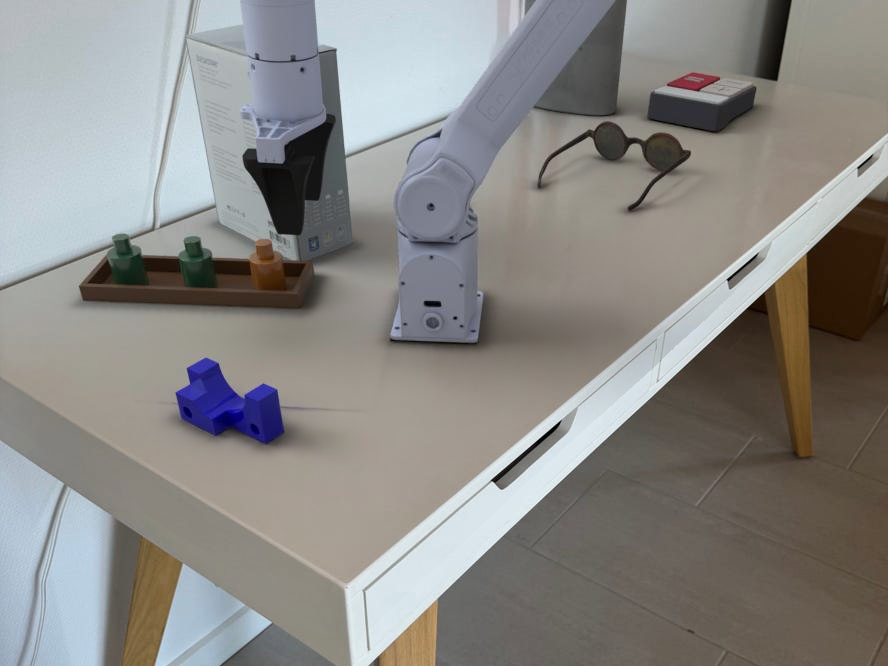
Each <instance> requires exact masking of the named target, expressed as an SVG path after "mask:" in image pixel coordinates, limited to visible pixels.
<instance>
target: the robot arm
mask: <svg viewBox="0 0 888 666" xmlns="http://www.w3.org/2000/svg"><path fill="white" fill-rule="evenodd" d="M615 1H616V0H536V1H535V3H534V4H533V5H532V7H531V8H530V9H529V11H528V12H527V14H526V15H525V14H524V15H523V16H524V17H522V19H521V20H520V22H519V23H518V25H517V26H516V28H515V29H514V30H513V31H512V32H511V35H510V36H509V37H508V39H506V41H505V43H504V44H503V46H502V47H501V48H500V50H499V51H498V52H497V53H496V55H495V56H494V58H493V59H492V61H491V62H490V64H489V65H488V66H487V67H486V69H485V70H484V72H483V73H482V74H481V76H480V77H479V79H478V80H477V81H476V83H475V84H474V85H473V87H472V88H471V90H469V92H468V94H467V95H466V96H465V98H464V99H463V101H462V102H461V104H460V105H459V106H458V107H457V108H456V109H455V110H454V111H452V113H450V114H449V115H448V116H447V118H446V119H445V120H444V122H443V123H442V124H441V126H440V127H439V128H437V129H436V130H435V131H433V132H432V133H430V134H428V135H425V136H423V137H422V138H420V139H419V140H418V141H416V142H415V143H414V145H413V146H412V148H411V149H410V150H409V153H408V156H407V159H406V167H405V170H404V172H403V175H402V178H401V180H400V181H399V182H398V185H397V186H396V189H395V192H394V197H393V207H394V213H395V216H396V217H397V218H396V219H397V220H396V226H397V228H396V229H397V247H398V248H397V249H398V267H399V268H398V269H399V273H398V299H399V302H398V305H397V309H396V312H395V316H394V319H393V323H392V327H391V331H390V339H391V340H395V341H412V342H413V341H416V342H440V343H441V342H443V343H464V344H465V343H467V344H474V343H477V342H478V341H479V334H480V327H481V326H480V325H481V320H482V319H481V318H482V311H483V304H484V303H483V302H484V292H483V291H481V290H478V248H479V247H478V242H479V240H478V237H479V235H478V234H479V231H478V228H479V227H478V225H479V220H478V214H477V213H475V212H474V209H473V207H472V206H471V201H472V198H473V196H474V195H475V193H476V192H477V190H479V188H480V186H481V185H482V184H483V183H484V180H485V178H486V176H487V175H488V173H489V171H490V169H491V167H492V165H493V163H494V162H495V159H496V157H497V155H498V154H499V152H500V151H501V149H502V148H503V147H504V145H506V143H507V142H508V140H509V139H510V138H511V136H512V135H513V134H514V132H516V130H517V129H518V127H519V126H520V125H521V124H522V122H523V121H524V120H525V118H526V117H527V115H528V114H529V113H530V112H531V110H533V108H535V107H534V105H535V104H536V103H537V101H538V100H539V99H540V98H541V96H542V95H543V94H544V92H545V91H546V90H547V89H548V87H549V86H550V85H551V83H552V82H553V81H554V79H555V78H556V77H557V76H558V74H559V73H560V72H561V70H562V69H563V68H564V67H565V65H566V64H567V63H568V61H569V60H570V59H571V58H572V56H573V55H574V54H575V52H576V51H577V50H578V49H579V47H580V46H581V45H582V43H583V42H584V41H585V39H586V38H587V37H588V36H589V34H590V33H591V32H592V30H593V29H594V28H595V27H596V25H597V24H598V23H599V21H600V20H601V19H602V18H603V16H604V15H605V14H606V12H607V11H608V10H609V9H610V7H611V6H612V5H613V3H614V2H615ZM239 3H240V11H241V19H242V25H243V29H244V37H245V45H246V53H247V59H248V67H249V76H250V84H251V92H252V100H253V104H245V105H244V106H243V107H242V108H241V109H240V117H241V118H242V119H248V120H252V121H253V123H254V126H255V129H256V133H257V136H256V138H255V142H256V149H253V148H248V149H247V150H246V151H245V153H244V154H243V155H242V158H243V164H244V167H245V169H246V170H247V171H248V173H249V174H250V175H251V177H252V178H253V179H254V181H255V182H256V184H257V186H258V188H259V189H260V191H261V193H262V195H263V197H264V200H265V202H266V205H267V208H268V210H269V213H270V216H271V219H272V222H273V224H274V227H275V229H276V231H277V233H278V234H283V235H301V233H302V230H303V225H304V214H305V200H310V201H318V200H319V198H320V194H321V189H322V181H323V171H324V162H325V156H326V150H327V146H328V142H329V139H330V136H331V133H332V130H333V128H334V125H335V123H336V117H335V116H334V115H332V114H326V109H325V107H324V105H323V100H322V87H321V74H320V62H319V49H318V43H319V37H318V25H317V13H316V11H317V10H316V0H239Z"/></svg>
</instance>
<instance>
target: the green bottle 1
mask: <svg viewBox="0 0 888 666" xmlns="http://www.w3.org/2000/svg"><path fill="white" fill-rule="evenodd" d="M111 241H112V245H113V247H112V248H110V249H108V250H107V252H106V255H107V257H108V260H109V264H110V268H111V272H112V275H113V279H114V283H115V285H139V286H147V285H148V284H149V280H148V275H147V271H146V267H145V263H144V259H143V255H144V254H143V252H142V248H141V247H140V246H139V245H136V244H132V242H131V238H130V235H129V234H128V233H117V234H114V235H112V237H111Z"/></svg>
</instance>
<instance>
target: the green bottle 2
mask: <svg viewBox="0 0 888 666" xmlns="http://www.w3.org/2000/svg"><path fill="white" fill-rule="evenodd" d="M201 239H202V238H201V237H200V236H199V235H198V236H197V235H189V236H187V237H184V239H183V246H184V249H183V250H182V251H180V252H179V253H178V255H177V256H178V259H179V264H180V268H181V273H182V278H183V282H184V287H193V288H217V287H218V282H217V277H216V271H215V266H214V261H213V258H214V255H213V252H212V250H211V249H209V248H207V247H203V243H202V240H201Z"/></svg>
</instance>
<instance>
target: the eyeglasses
mask: <svg viewBox="0 0 888 666" xmlns="http://www.w3.org/2000/svg"><path fill="white" fill-rule="evenodd" d="M588 138H591V139H592V140H593V144H594V147H595V149H596V152H597V153H598V154H599V155H600V156H601V157H602V158H604V159H606V160H609V161H617V160H620V159H622V158H623V157H624V156H625V155H626V153H627V152H628V150H629V148H630V146H632V145H635V144H636V145H639V146H640V147H641V152H642V157H643V159H644V160H645V162H646V163H647V164H648V165H649V166H650V167H651V168H653V169H655V170H657V171H661V172H659V173H658V174H657V175H656V176H655V177H654V178H652V179H651V181H650V182H649V183H648V184H647V186H646V187H645V188H644V191H643V192H642V193H641V195H640V196H639V198H637V200H636V201H635V202H633V203H632V204H629V205H628V206H627V211H628V212H631V211H633V210H635V209H637V208H638V207H639V206H640V205H641V204H642V203H643V201H644V200H645V198H646V197H647V196H648V194H649V192H650V191H651V189H652V188H653V187H654V186H655V184H656V183H658V182H659V181H660V180H661V179H663V178H664V177H665V176H666V175H668V174H669V173H670V172H673V170H675V169H676V168H678V167H680V166H681V165H682V164H684V163H685V162H686V161H687V160H688V159H690V158H691V155H692V151H691V150H690V149H684V148H683V147H682V144H681V142H680V141H679V140H678V138H677V137H675V136H674V135H672V134H670V133H669V132H661V131H660V132H655V133H652V134H651V135H649V136H648V138H646V139H645V140H643V139H642V138H638V137H635V136H633V137H628V136H627V134H626V133H625V132H624V130H623V128H622V127H621V126H620V125H618V124H617V123H616V122H613V121H609V120H607V121H606V120H605V121H603V122H600V123H599V124H598V125H597V126H596V127H595V128H594V130H593V129H587V130H586V131H585V132H583V133H581V134H579V135H578V136H576V137H575V138H573V139H571V140H570V141H568V142H567V143H566V144H564V145H562V146H561V147H559V148H558V149H556V150H555V151H554V152H552V153H550V154H549V155H548V157H547V158H546V159H545V160H544V162H543V164H542V167H541V168H540V171H539V173H538V177H537V179H538V180H537V188H541V185H542V178H543V175H544V174H545V172H546V170H547V167H548V165H549V163H550V162H551V161H552V160H553V159H555V157H557V156H558V155H560V154H562V153H563V152H564V153H565V152H566V151H567V150H568V149H569V150H570V149H571V148H572V147H574V146H576V145H578V144H579V143H581V142H583V141H584V140H587V139H588Z"/></svg>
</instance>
